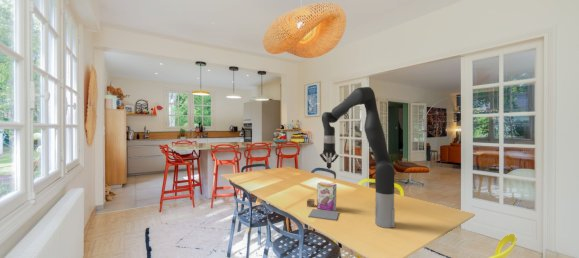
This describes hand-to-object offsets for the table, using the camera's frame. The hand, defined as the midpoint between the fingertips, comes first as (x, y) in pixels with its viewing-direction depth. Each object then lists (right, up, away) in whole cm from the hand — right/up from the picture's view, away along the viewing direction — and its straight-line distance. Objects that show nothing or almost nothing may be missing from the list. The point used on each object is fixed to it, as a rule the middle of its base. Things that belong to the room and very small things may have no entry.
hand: (329, 168), depth 157 cm
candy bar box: (-3, -25, -8) cm, 26 cm away
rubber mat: (-6, -24, -17) cm, 31 cm away
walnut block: (-12, -24, -2) cm, 27 cm away
